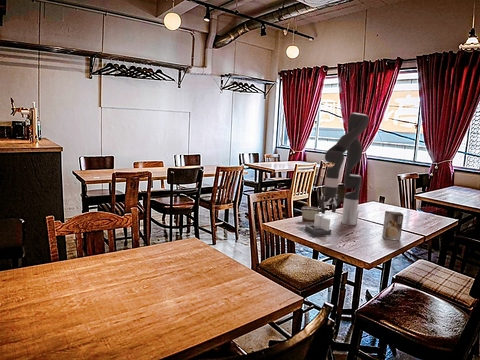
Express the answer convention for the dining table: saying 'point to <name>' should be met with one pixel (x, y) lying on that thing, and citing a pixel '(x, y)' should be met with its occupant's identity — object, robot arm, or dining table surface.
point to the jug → (321, 222)
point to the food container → (309, 213)
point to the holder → (317, 232)
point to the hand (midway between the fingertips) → (328, 212)
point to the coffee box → (392, 225)
